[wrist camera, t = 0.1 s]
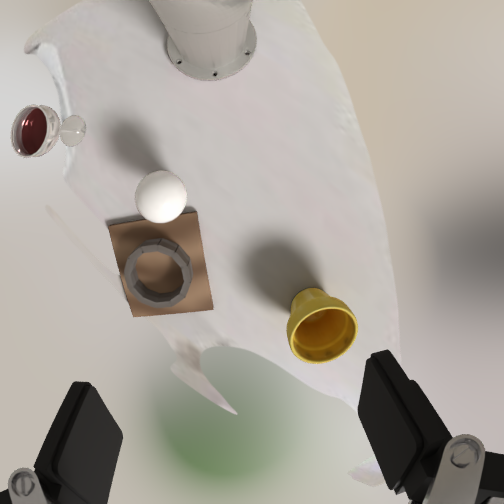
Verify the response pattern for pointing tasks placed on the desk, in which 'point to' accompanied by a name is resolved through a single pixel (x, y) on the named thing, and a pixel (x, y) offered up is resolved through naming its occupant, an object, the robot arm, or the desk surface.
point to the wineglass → (43, 131)
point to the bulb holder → (162, 265)
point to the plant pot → (320, 327)
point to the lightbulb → (161, 196)
